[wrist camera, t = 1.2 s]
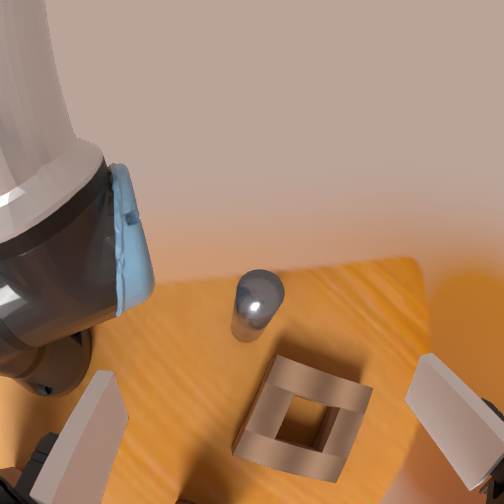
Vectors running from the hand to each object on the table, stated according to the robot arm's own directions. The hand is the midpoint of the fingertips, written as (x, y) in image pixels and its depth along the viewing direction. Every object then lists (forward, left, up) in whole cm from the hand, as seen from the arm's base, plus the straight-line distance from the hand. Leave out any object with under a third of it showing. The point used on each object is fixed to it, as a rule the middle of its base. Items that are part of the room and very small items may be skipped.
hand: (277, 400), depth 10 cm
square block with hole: (+8, -1, -25) cm, 26 cm away
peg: (-3, +8, -25) cm, 26 cm away
